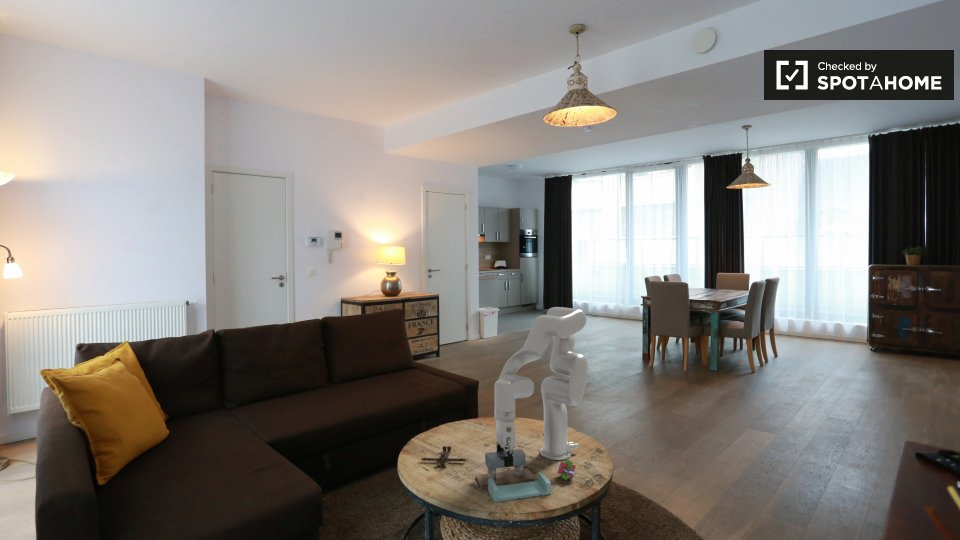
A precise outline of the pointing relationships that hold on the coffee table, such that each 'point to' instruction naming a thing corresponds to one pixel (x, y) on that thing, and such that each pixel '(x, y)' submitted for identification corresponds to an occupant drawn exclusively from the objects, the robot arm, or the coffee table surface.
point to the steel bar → (497, 459)
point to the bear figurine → (443, 457)
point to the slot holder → (520, 489)
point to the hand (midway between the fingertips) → (504, 460)
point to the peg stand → (506, 477)
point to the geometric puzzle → (566, 469)
